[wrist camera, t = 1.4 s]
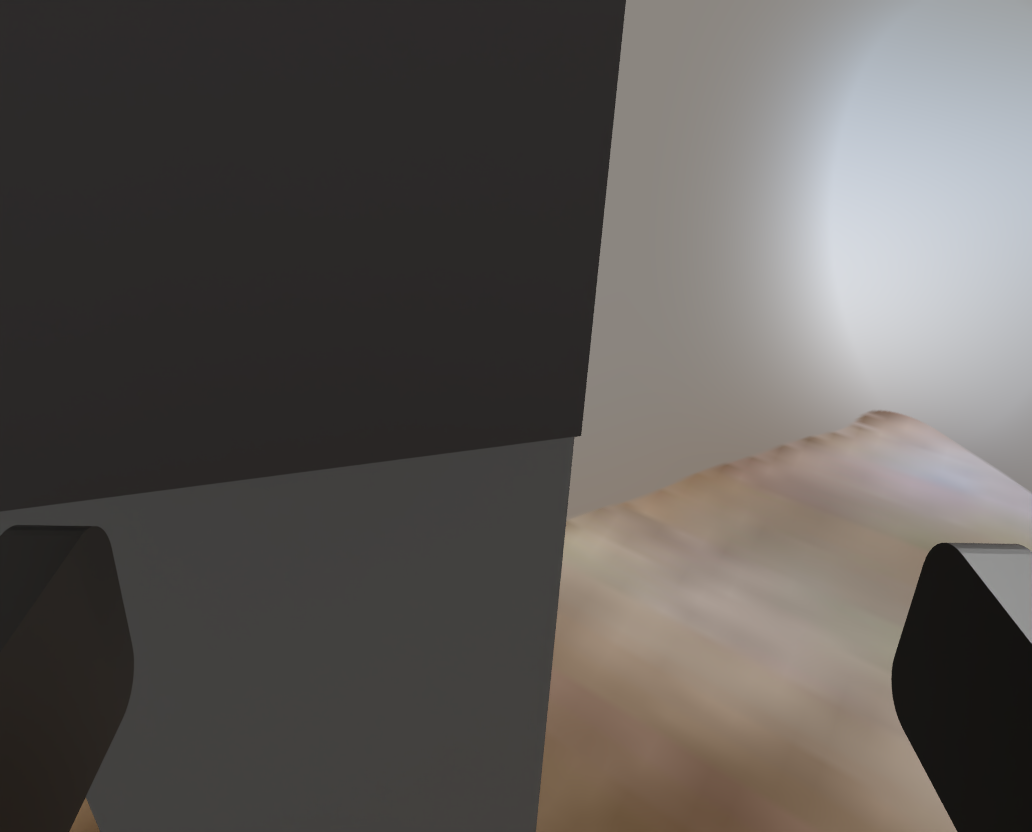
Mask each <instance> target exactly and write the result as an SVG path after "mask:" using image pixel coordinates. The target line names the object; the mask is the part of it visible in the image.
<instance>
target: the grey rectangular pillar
mask: <svg viewBox="0 0 1032 832" xmlns="http://www.w3.org/2000/svg"><path fill="white" fill-rule="evenodd" d="M573 444H574V437H569V438H561V439H553V440H546V441H538V442H530V443H523V444H515V445H507V446H500V447H492V448H484V449H477V450H469V451H461V452H454V453H446V454H438V455H431V456H423V457H415V458H408V459H400V460H392V461H385V462H377V463H369V464H362V465H354V466H346V467H339V468H331V469H323V470H316V471H308V472H300V473H293V474H285V475H277V476H270V477H262V478H254V479H247V480H239V481H231V482H224V483H216V484H208V485H201V486H193V487H185V488H178V489H170V490H162V491H155V492H147V493H139V494H132V495H124V496H116V497H109V498H101V499H93V500H86V501H78V502H70V503H63V504H55V505H47V506H40V507H32V508H24V509H17V510H9V511H1V512H0V536H1V535H2V534H3V532H4V531H5V530H7V529H8V528H10V527H11V526H14V525H55V526H98V527H100V528H102V529H103V530H104V531H105V532H106V534H107V536H108V538H109V540H110V543H111V547H112V551H113V556H114V561H115V565H116V570H117V575H118V580H119V584H120V589H121V594H122V599H123V603H124V608H125V613H126V617H127V622H128V627H129V632H130V636H131V641H132V646H133V652H134V676H133V684H132V690H131V695H130V699H129V703H128V706H127V709H126V712H125V715H124V717H123V719H122V721H121V724H120V726H119V728H118V730H117V732H116V734H115V736H114V738H113V740H112V742H111V745H110V747H109V749H108V751H107V753H106V755H105V757H104V759H103V761H102V763H101V766H100V768H99V770H98V772H97V774H96V776H95V778H94V780H93V782H92V785H91V787H90V789H89V791H88V793H87V795H86V799H87V801H88V803H89V806H90V808H91V811H92V813H93V815H94V818H95V820H96V822H97V825H98V827H99V830H100V832H536V824H537V813H538V803H539V793H540V783H541V773H542V762H543V752H544V742H545V732H546V721H547V711H548V701H549V691H550V680H551V670H552V660H553V650H554V640H555V629H556V619H557V609H558V599H559V588H560V578H561V568H562V558H563V547H564V537H565V527H566V517H567V506H568V496H569V486H570V475H571V466H572V455H573Z"/></svg>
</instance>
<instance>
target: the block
mask: <svg viewBox="0 0 1032 832" xmlns="http://www.w3.org/2000/svg"><path fill="white" fill-rule="evenodd" d="M625 4H626V0H0V512H1V511H9V510H17V509H24V508H32V507H40V506H47V505H55V504H63V503H70V502H78V501H86V500H93V499H101V498H109V497H116V496H124V495H132V494H139V493H147V492H155V491H162V490H170V489H178V488H185V487H193V486H201V485H208V484H216V483H224V482H231V481H239V480H247V479H254V478H262V477H270V476H277V475H285V474H293V473H300V472H308V471H316V470H323V469H331V468H339V467H346V466H354V465H362V464H369V463H377V462H385V461H392V460H400V459H408V458H415V457H423V456H431V455H438V454H446V453H454V452H461V451H469V450H477V449H484V448H492V447H500V446H507V445H515V444H523V443H530V442H538V441H546V440H553V439H561V438H569V437H576V436H581V431H582V421H583V411H584V401H585V392H586V382H587V381H586V380H587V372H588V363H589V353H590V343H591V333H592V324H593V313H594V304H595V295H596V285H597V274H598V266H599V256H600V246H601V237H602V227H603V226H602V225H603V217H604V207H605V198H606V186H607V178H608V169H609V159H610V148H611V139H612V129H613V120H614V110H615V101H616V100H615V99H616V91H617V81H618V71H619V62H620V52H621V42H622V33H623V22H624V13H625Z"/></svg>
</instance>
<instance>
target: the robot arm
mask: <svg viewBox="0 0 1032 832" xmlns="http://www.w3.org/2000/svg"><path fill="white" fill-rule="evenodd" d="M133 676H134V652H133V646H132V641H131V636H130V632H129V627H128V622H127V617H126V613H125V608H124V603H123V599H122V594H121V589H120V584H119V580H118V575H117V570H116V565H115V561H114V556H113V551H112V547H111V543H110V540H109V538H108V536H107V534H106V532H105V531H104V530H103V529H102V528H100V527H98V526H55V525H14V526H11V527H10V528H8V529H7V530H5V531H4V532H3V534H2V535H1V536H0V832H69V831H70V829H71V827H72V824H73V822H74V820H75V818H76V816H77V814H78V812H79V810H80V808H81V806H82V803H83V801H84V799H85V797H86V795H87V793H88V791H89V789H90V787H91V785H92V782H93V780H94V778H95V776H96V774H97V772H98V770H99V768H100V766H101V763H102V761H103V759H104V757H105V755H106V753H107V751H108V749H109V747H110V745H111V742H112V740H113V738H114V736H115V734H116V732H117V730H118V728H119V726H120V724H121V721H122V719H123V717H124V715H125V712H126V709H127V706H128V703H129V699H130V695H131V690H132V684H133ZM892 694H893V700H894V705H895V709H896V713H897V716H898V719H899V721H900V723H901V726H902V728H903V730H904V732H905V734H906V735H907V737H908V739H909V741H910V743H911V745H912V747H913V749H914V751H915V752H916V754H917V756H918V758H919V760H920V762H921V764H922V766H923V768H924V769H925V771H926V773H927V775H928V777H929V779H930V781H931V783H932V785H933V786H934V788H935V790H936V792H937V794H938V796H939V798H940V800H941V802H942V803H943V805H944V807H945V809H946V811H947V813H948V815H949V817H950V819H951V820H952V822H953V824H954V826H955V828H956V830H957V832H1032V552H1031V551H1030V550H1029V549H1028V548H1026V547H1024V546H1022V545H1019V544H982V543H940V544H937V545H936V546H934V547H933V548H932V549H931V550H930V551H929V553H928V555H927V557H926V559H925V562H924V564H923V567H922V571H921V574H920V577H919V580H918V583H917V587H916V590H915V593H914V596H913V599H912V603H911V606H910V609H909V612H908V615H907V619H906V622H905V625H904V628H903V631H902V634H901V638H900V641H899V644H898V647H897V650H896V654H895V657H894V661H893V666H892Z"/></svg>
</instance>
